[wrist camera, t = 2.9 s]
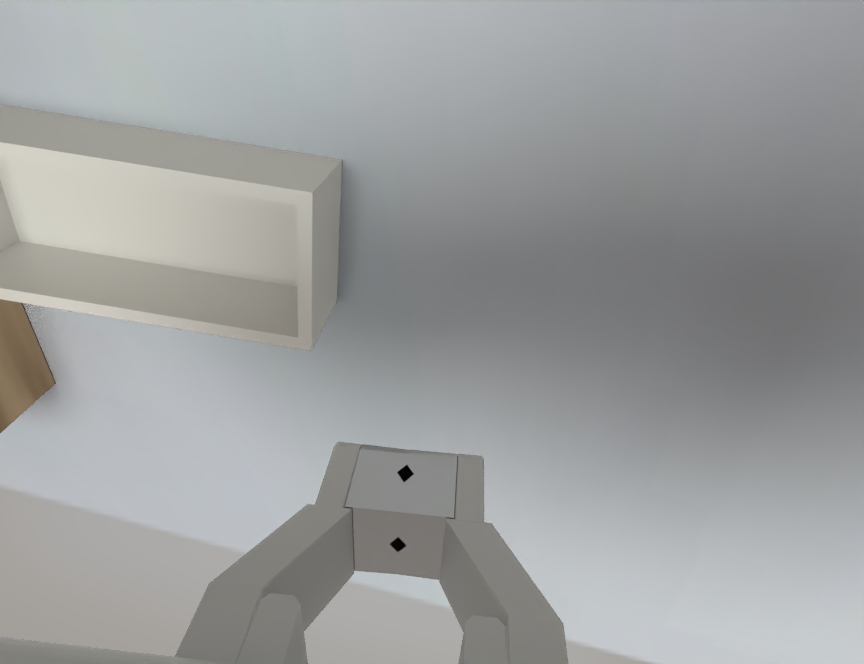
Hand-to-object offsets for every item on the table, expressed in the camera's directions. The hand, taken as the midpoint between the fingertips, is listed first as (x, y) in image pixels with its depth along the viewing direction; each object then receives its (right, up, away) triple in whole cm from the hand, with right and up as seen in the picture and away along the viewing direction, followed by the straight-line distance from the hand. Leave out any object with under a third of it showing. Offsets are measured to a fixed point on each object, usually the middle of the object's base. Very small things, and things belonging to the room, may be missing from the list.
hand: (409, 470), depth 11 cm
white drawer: (-10, +8, +10) cm, 17 cm away
